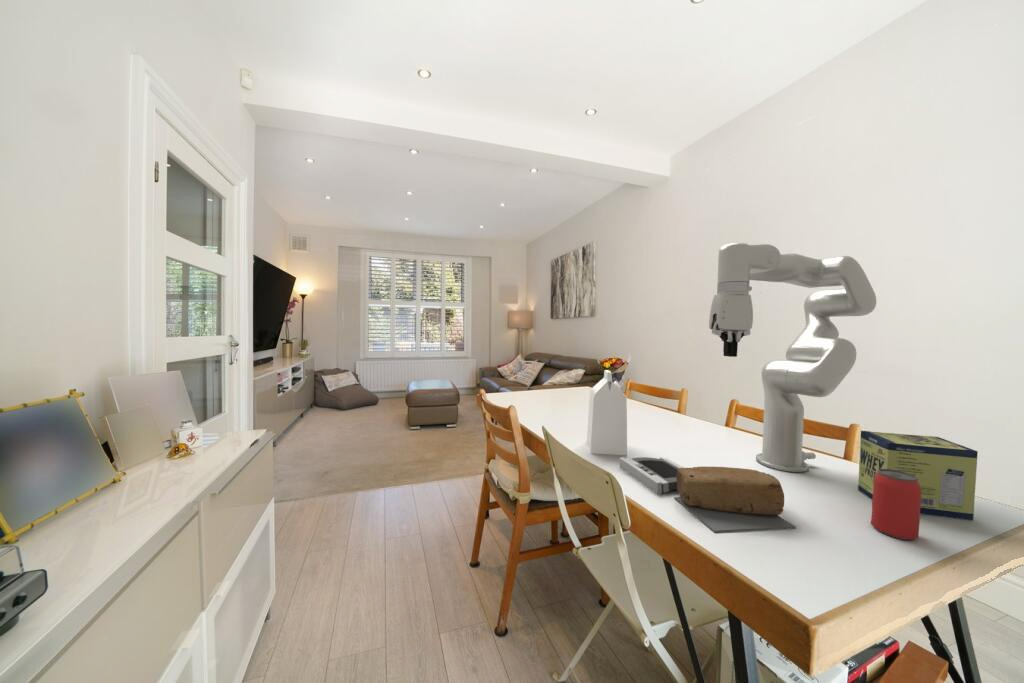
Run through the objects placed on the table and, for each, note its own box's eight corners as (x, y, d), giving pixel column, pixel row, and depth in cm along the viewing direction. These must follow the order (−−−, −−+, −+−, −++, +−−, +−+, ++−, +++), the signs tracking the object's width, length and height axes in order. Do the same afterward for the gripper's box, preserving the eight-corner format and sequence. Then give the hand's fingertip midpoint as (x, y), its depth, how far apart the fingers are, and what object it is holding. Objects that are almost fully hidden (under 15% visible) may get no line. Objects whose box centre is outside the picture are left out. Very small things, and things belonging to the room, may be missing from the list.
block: (788, 485, 74) (684, 478, 79) (787, 521, 75) (683, 511, 79) (764, 465, 85) (673, 459, 89) (763, 496, 85) (673, 489, 90)
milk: (586, 441, 127) (588, 368, 126) (619, 443, 126) (621, 369, 125) (590, 453, 115) (592, 373, 114) (627, 455, 114) (629, 374, 113)
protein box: (855, 489, 91) (859, 429, 91) (935, 499, 87) (939, 436, 86) (883, 509, 82) (888, 442, 81) (975, 521, 77) (980, 450, 76)
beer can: (861, 522, 76) (864, 466, 75) (893, 523, 75) (897, 467, 75) (893, 541, 69) (897, 480, 69) (929, 542, 69) (933, 481, 68)
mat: (743, 495, 87) (743, 494, 87) (795, 528, 73) (795, 526, 73) (674, 498, 85) (674, 497, 85) (714, 532, 71) (714, 530, 71)
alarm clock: (619, 457, 103) (667, 449, 107) (620, 473, 104) (668, 464, 108) (657, 483, 87) (712, 472, 91) (657, 501, 87) (713, 489, 91)
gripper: (747, 291, 103) (744, 355, 104) (698, 290, 101) (696, 355, 102) (768, 289, 95) (765, 357, 96) (716, 287, 94) (714, 357, 94)
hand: (730, 356), depth 99 cm, fingers closed
